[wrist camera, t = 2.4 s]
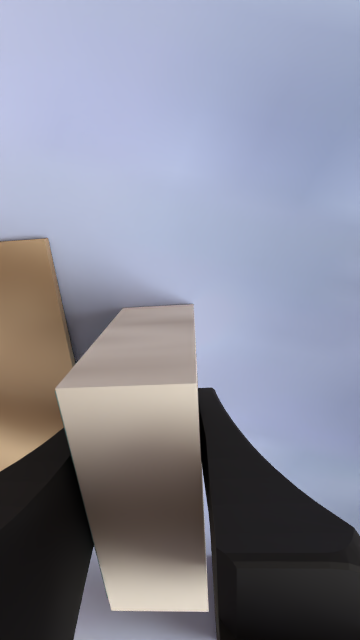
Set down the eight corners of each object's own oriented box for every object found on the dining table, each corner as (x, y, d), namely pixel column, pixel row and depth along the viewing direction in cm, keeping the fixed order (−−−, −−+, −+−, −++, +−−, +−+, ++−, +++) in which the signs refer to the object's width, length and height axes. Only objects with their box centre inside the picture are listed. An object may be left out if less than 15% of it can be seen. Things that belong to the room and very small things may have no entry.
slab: (201, 453, 14) (208, 611, 8) (140, 454, 14) (106, 610, 8) (193, 304, 11) (196, 383, 5) (119, 308, 11) (47, 389, 6)
